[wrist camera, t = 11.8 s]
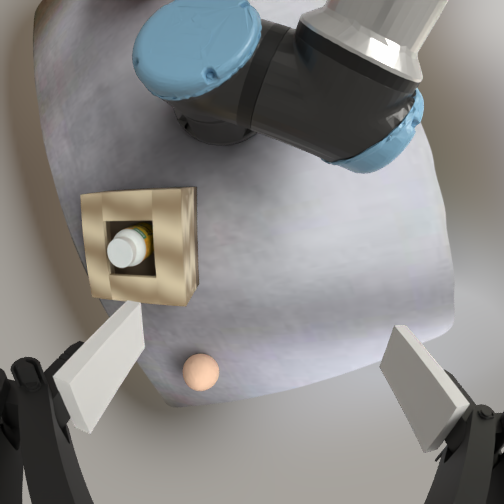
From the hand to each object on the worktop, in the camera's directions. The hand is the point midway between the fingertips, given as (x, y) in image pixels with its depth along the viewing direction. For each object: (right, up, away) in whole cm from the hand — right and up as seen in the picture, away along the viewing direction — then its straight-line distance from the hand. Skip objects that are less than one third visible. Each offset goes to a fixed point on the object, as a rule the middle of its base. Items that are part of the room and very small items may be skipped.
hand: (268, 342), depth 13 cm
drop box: (-18, +7, +31) cm, 36 cm away
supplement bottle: (-18, +7, +29) cm, 35 cm away
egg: (-10, -16, +37) cm, 42 cm away
